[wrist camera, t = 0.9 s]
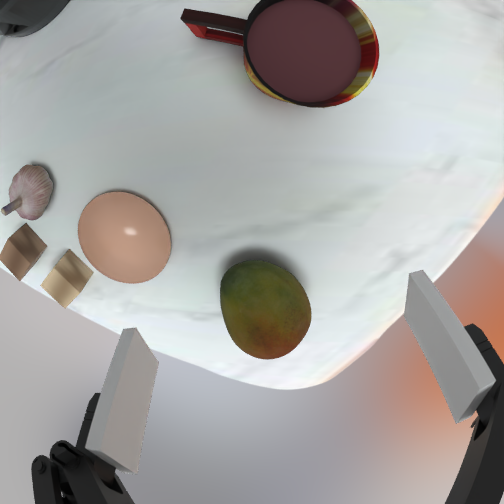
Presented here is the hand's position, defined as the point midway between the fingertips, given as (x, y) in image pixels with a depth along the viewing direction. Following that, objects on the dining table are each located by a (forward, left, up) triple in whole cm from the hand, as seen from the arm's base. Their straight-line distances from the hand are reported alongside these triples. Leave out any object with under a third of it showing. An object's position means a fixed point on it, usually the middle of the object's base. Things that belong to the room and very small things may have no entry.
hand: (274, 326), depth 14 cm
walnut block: (-15, -32, -23) cm, 42 cm away
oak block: (-7, -29, -23) cm, 38 cm away
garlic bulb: (-19, -23, -24) cm, 38 cm away
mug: (-10, +9, -23) cm, 27 cm away
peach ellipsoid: (-5, -18, -23) cm, 30 cm away
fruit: (+12, -9, -23) cm, 28 cm away
